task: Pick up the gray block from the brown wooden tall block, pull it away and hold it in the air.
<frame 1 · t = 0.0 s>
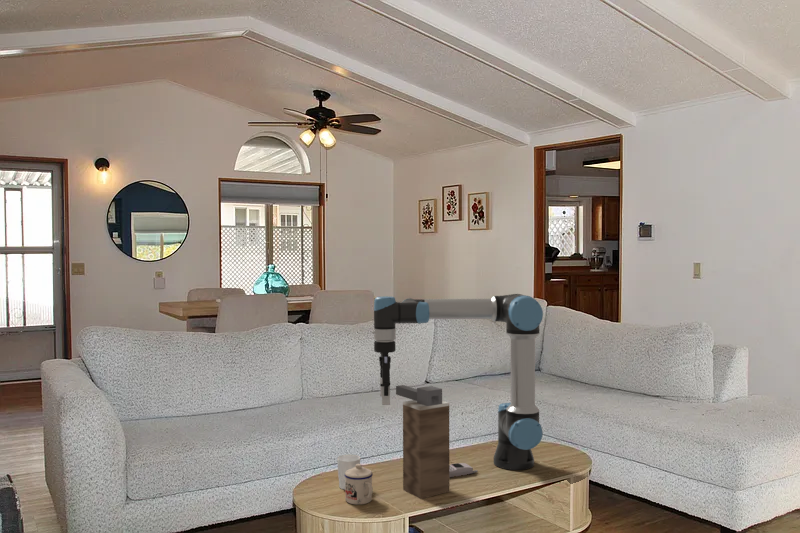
hand: (385, 400, 244), 28 cm above the table, tool pointing down, fingers open, 13 cm apart
gray block: (426, 402, 233), point 30 cm above the table, touching brown wooden tall block
brown wooden tall block: (426, 490, 234), on the table
white cup: (349, 487, 238), on the table
mobile phone: (443, 476, 249), on the table
teacup with lid: (361, 501, 224), on the table
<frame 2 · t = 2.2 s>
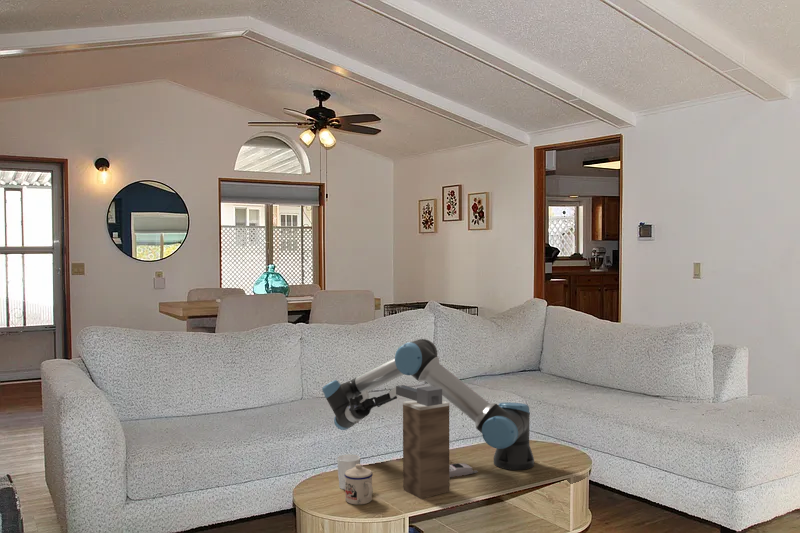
hand: (383, 391, 255), 29 cm above the table, tool pointing upward, fingers open, 13 cm apart
nothing on the table moved.
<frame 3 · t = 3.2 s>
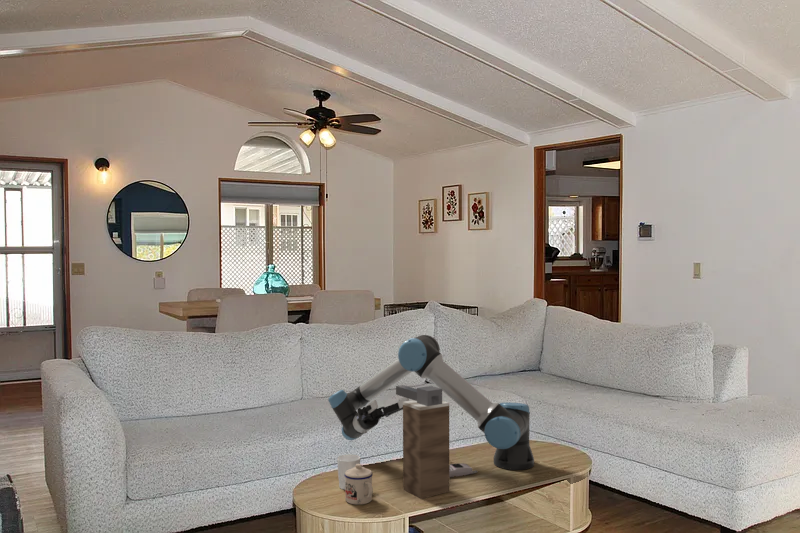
hand: (392, 401, 250), 27 cm above the table, tool pointing upward, fingers open, 13 cm apart
nothing on the table moved.
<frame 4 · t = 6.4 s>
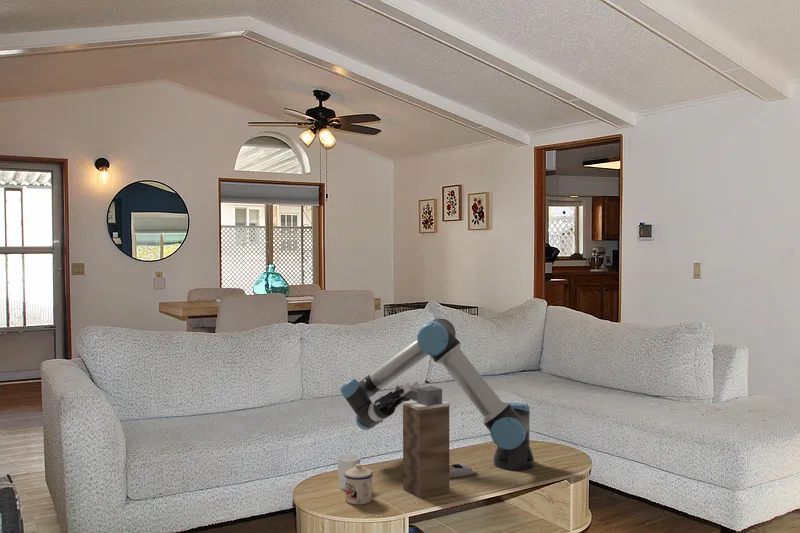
hand: (413, 386, 239), 34 cm above the table, tool pointing upward, fingers closed on gray block, 3 cm apart
gray block: (426, 402, 233), point 30 cm above the table, touching gripper, brown wooden tall block
everything else where it was.
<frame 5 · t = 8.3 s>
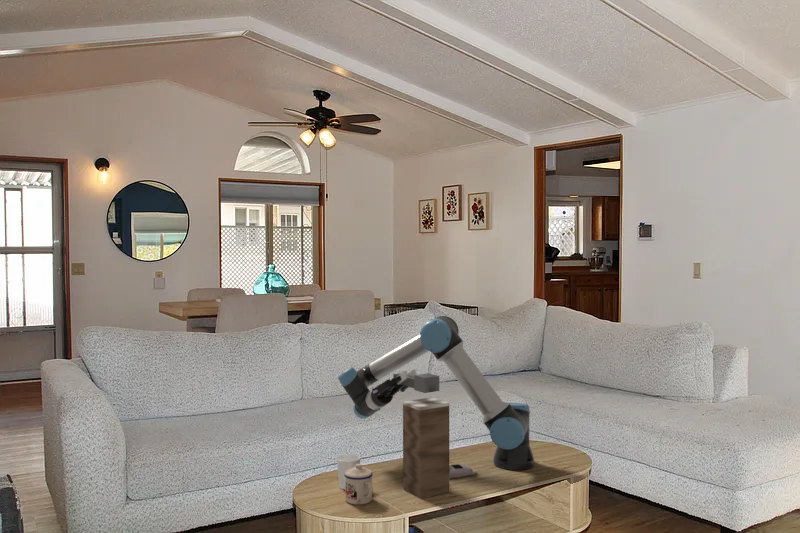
hand: (410, 373, 240), 38 cm above the table, tool pointing upward, fingers closed on gray block, 3 cm apart
gray block: (423, 389, 234), point 34 cm above the table, touching gripper
everything else where it was.
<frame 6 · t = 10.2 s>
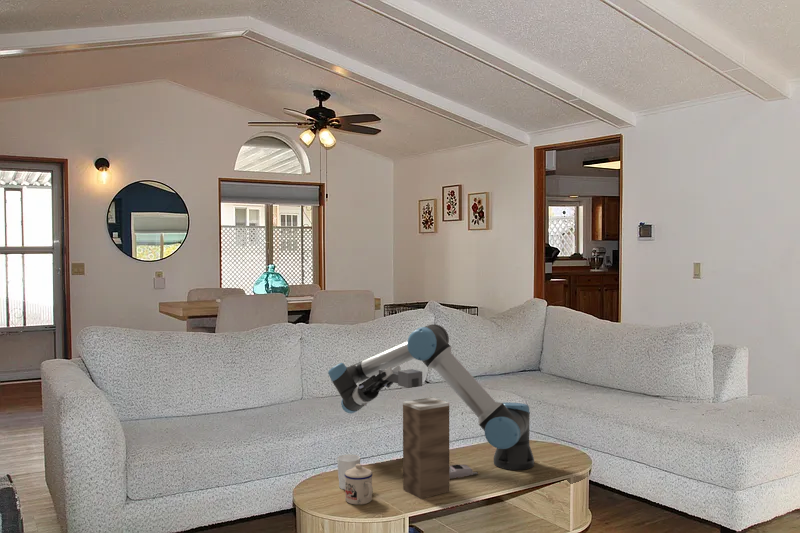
hand: (395, 369, 248), 38 cm above the table, tool pointing upward, fingers closed on gray block, 3 cm apart
gray block: (406, 384, 242), point 34 cm above the table, touching gripper
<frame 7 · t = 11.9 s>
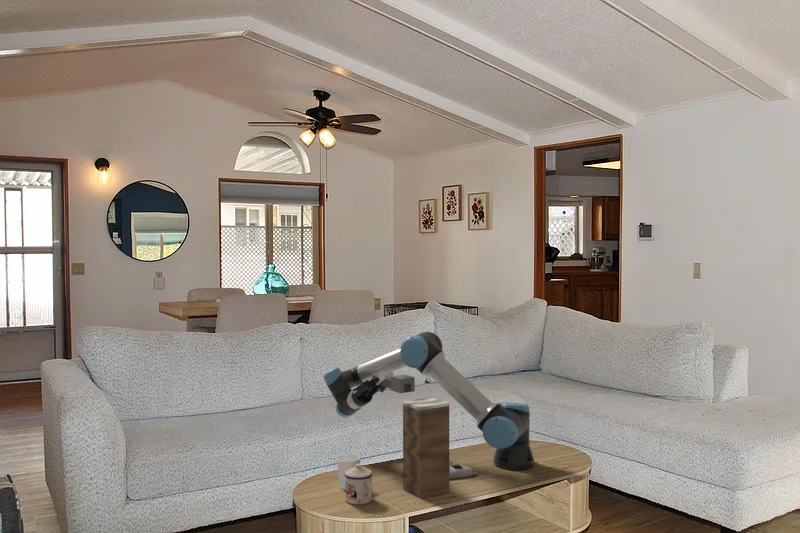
hand: (388, 374, 252), 36 cm above the table, tool pointing upward, fingers closed on gray block, 3 cm apart
gray block: (399, 389, 246), point 32 cm above the table, touching gripper
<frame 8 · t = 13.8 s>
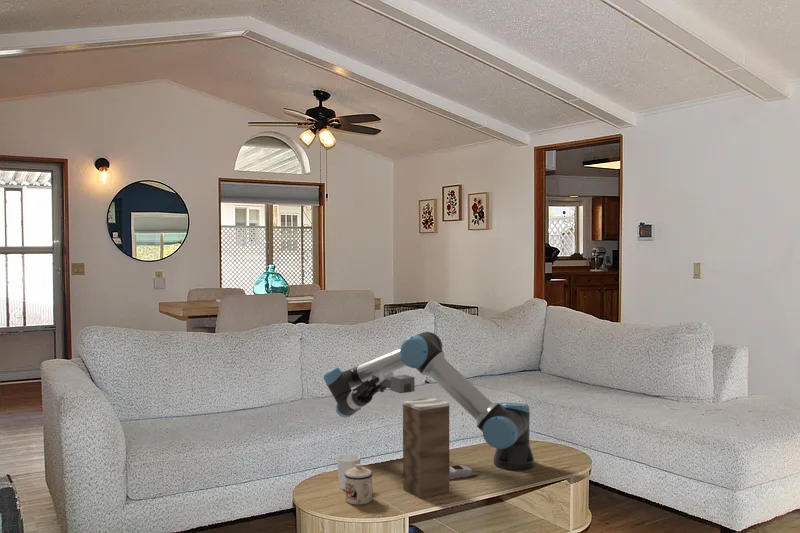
hand: (388, 374, 252), 36 cm above the table, tool pointing upward, fingers closed on gray block, 3 cm apart
gray block: (399, 389, 246), point 31 cm above the table, touching gripper
at the end: gray block moved 15.8 cm from its start; gray block touching gripper; gray block point 31.5 cm above the table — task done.
